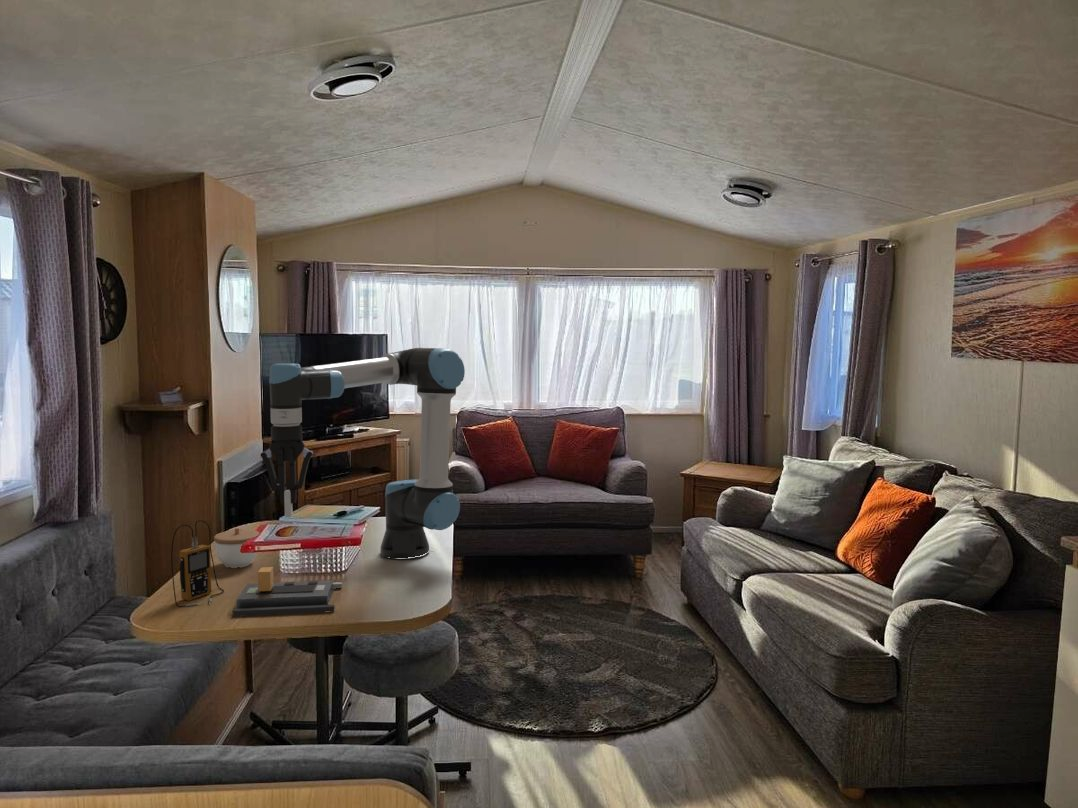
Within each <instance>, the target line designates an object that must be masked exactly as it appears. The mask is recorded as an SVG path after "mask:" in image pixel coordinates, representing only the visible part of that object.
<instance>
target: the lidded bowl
mask: <svg viewBox="0 0 1078 808" xmlns="http://www.w3.org/2000/svg"><path fill="white" fill-rule="evenodd" d="M258 535H260V532H259V531H257V530H255V529H245V528H244V529H240V528H239V527H235V528H234V529H233V530H226V531H222V532H220V533H216V534H215V535H214V536H213V542H214V549H215V554H216V556H217V559H218V560H219V562H221V563H222V564H223V565H224V566H226V568H228V567H231V568H230V569H238V568H237V567H240V568H245V567H248V566H250V565H251V564H252V562H253V561H254V559H256V558H257V555H258V553H241V552H240V549H241V546H242V544H243V543H244V542H246V541H247V540H249V539H250V538H254V537H256V536H258Z"/></svg>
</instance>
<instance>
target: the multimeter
mask: <svg viewBox="0 0 1078 808" xmlns="http://www.w3.org/2000/svg"><path fill="white" fill-rule="evenodd" d="M198 522H203V523H205V524H206V526H207V527H208V531H209V533H208V534H209V535H208V536H209V537H208V539H209V541H208V542H209V545H206V544H200V545H198V544H199V542H198V536H197V532H198V531H197V523H198ZM194 526H195V527H194V529H195V539H194V529H193V528H192V526H191V525H188V524H181V525H179V526H178V527H177V528H176V529H175V531H174V533H173V537H172V542H171V553H170V556H171V557H170V558H171V559H170V560H171V561H170V563H171V565H170V566H171V576H172V588H173V594H174V601H175V602H174V603H175V605H176V607H178V608H182V607H191V606H198V605H202V604H203V605H204V604H205V602H200V603H198V602H196V603H188V604H184V605H178V603H177V598H176V588H175V581H174V577H175V576H174V570H173V569H174V568H173V548H174V541H175V537H176V533H177V531H178V529H180V528H182V527H188V528H189V529H190V530H191V547H190V548H185V549H181V550H179V551H178V552H179V581H180V582H179V583H180V593H181V594H180V595H181V597H180V598H181V599H182V600H184V601H189V602H190V601H193V600H194V599H197V598H200V597H203V596H209V595H210V594H211V593H212V571H211V570H212V567H213V575H214V579H215V583H216V586H217V588H218V589H219V588H220V589H219V590H221V589H222V591H221V592H220V593H216V594H212V595H210V596H209V601H208V603H209V605H211V603H212V597H213V596H219V595H221V594H223V593H224V592H225V590H224V589H223V588H221V587H220V586H219V584H218V580H217V575H216V569H215V563H214V558H213V555H212V553H213V552H212V545H211V544H212V543H211V528H210V526H209V523H207V522H206V521H204V520H200V519H199V520H196V522H195V523H194ZM194 540H195V542H194ZM211 561H212V564H211ZM211 566H212V567H211ZM210 602H211V603H210Z"/></svg>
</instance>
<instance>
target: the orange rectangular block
mask: <svg viewBox="0 0 1078 808" xmlns="http://www.w3.org/2000/svg"><path fill="white" fill-rule="evenodd" d="M274 579H275V578H274V566H267V567H266V566H265V567H264V566H263V567H262V566H261V567H260V569H259V570H258V571H257V583H258V591H271V589H272V588H273V586H274V583H275V582H274Z"/></svg>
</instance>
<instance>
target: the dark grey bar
mask: <svg viewBox="0 0 1078 808" xmlns="http://www.w3.org/2000/svg"><path fill="white" fill-rule="evenodd" d="M335 608H336V607H335V604H328V605H315V606H292V607H268V608H245V609H237V608H234V609H233V610H232V617H252V616H253V617H255V616H275V615H277V616H279V615H299V614H301V613H302V614H316V613H315V612H325V611H334V612H335V610H334V609H335ZM325 613H326V612H325Z"/></svg>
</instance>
